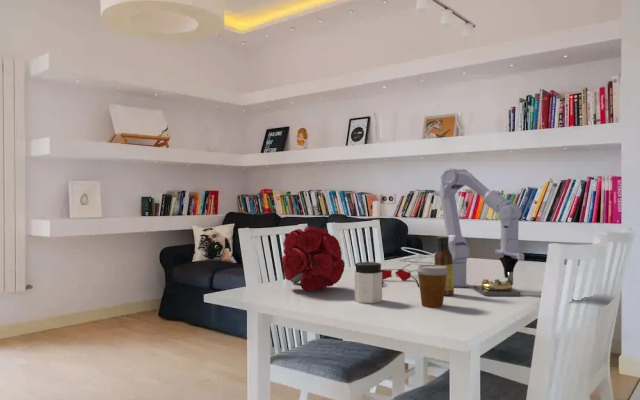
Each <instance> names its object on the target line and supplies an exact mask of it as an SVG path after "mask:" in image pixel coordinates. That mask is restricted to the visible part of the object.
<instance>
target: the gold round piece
mask: <svg viewBox="0 0 640 400" xmlns="http://www.w3.org/2000/svg"><path fill="white" fill-rule="evenodd" d="M513 285H514V271H513V272H508V278H507V280H505V281H500V279H498V278H495V279H494V280H489V279H483V281H482V282H481V286H482V288H484V289H488V290H499V291H504V290H511V289H512V288H513Z"/></svg>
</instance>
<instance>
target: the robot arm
mask: <svg viewBox="0 0 640 400" xmlns="http://www.w3.org/2000/svg"><path fill="white" fill-rule="evenodd" d="M440 181H441V183H440V186H439V199H440V203H441V204H440V205H441V209H442V210H441V211H442V214H443V216H442V217H443V222H444V228H445V233H446V236H448V237H449V241H448V245H449V251H450V253H451V255H452V260H453V276H454V288H455V287H459V288H460V287H462V288H466V287H468V288H469V287H470V286H471V285H469V284H468V283H467V261H468V258H469V257H470V256H471V249H470V247H469V245H468V243H467V240H466V238H465V237H464V236H463V235H462V229H461V224H460V217H459V213H458V212H459V211H458V207H457V199H456V193H458V191H459V190H460V189H461V188H463V187H468V188H469V189H471V190H473V191H474V192H475V193H476V194H478V195H479V196H481V197H482V198H483V202H484V204H485V205H487V207H489V208H490V209H492V210H493V211H494V212H495V213H497V216H498V218H499V220H500V248H495V249H494V250H495V252H494V253H495V255H497V256H503V257H499V261H500V262H501V265H502V268H503V274H504V278H506V279H508V272H513V273H514V271H515V270H514V269H515V267H516V265H517V263H518V262H519V261H524V260H525V254H524V253H522V252H520V251H519V219H520V218H521V217H522V215H523V213H522V212H523V211H522V208H521V207H520V206H519V204H518V203H512V200H511V199H507V198H505V197H504V196H503V195H502V192H500V191H499V190H490V189H489V188H488V187H487V186H485V185H484V184H483V183H482V182H481V181H480V180H478V178H476V177H475V176H474V175H473V173H471V172H469V171H468V170H467V169H465V168H451V167H449V168H445V170H444V171H443V172H442V173H441V174H440Z"/></svg>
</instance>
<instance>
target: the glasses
mask: <svg viewBox="0 0 640 400" xmlns="http://www.w3.org/2000/svg"><path fill="white" fill-rule="evenodd" d="M392 271H395V272H394V274H395V276H396V278H398V277H399V278H400V280H402V281H407V280H409V279H410V278H413V280H414V281H416V284H417V288H420V286H419V280H418V279H417V278H415V277H414V276H413V275H412V274H411V271H410V270H408V269H405V268H404V269H401V268H399V269H398V268H397V269H391V268H389V269H387V268H386V269H385V268H384V269H381V272H382V288H384V280H385V279H389V278H392V277H393V275H392V274H393V273H392Z"/></svg>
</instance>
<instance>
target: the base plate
mask: <svg viewBox="0 0 640 400" xmlns="http://www.w3.org/2000/svg"><path fill="white" fill-rule="evenodd" d="M473 289H474V291H476V292H477V293H479V294H480V295H483V296H484V297H521V291H519V290H518V289H516V288H514V287H512V289H511V290H504V291H499V290H488V289H484V288H482V285H474V286H473Z"/></svg>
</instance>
